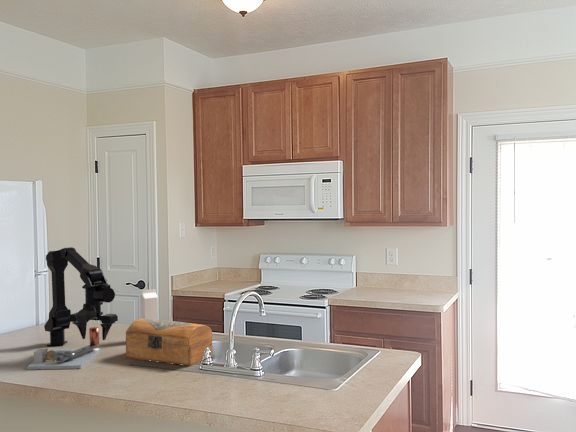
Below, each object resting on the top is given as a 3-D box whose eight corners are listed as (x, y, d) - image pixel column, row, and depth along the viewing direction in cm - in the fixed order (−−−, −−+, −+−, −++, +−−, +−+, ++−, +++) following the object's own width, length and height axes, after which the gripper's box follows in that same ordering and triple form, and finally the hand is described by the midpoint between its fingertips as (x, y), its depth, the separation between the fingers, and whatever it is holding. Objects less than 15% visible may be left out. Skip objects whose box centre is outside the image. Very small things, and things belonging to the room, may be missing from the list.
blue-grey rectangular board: (52, 352, 224) (52, 339, 224) (101, 351, 225) (100, 338, 225) (27, 369, 200) (26, 355, 200) (81, 368, 201) (81, 354, 201)
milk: (140, 339, 243) (139, 289, 243) (154, 337, 246) (153, 288, 246) (145, 342, 238) (143, 291, 238) (159, 340, 241) (157, 289, 241)
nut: (48, 358, 209) (48, 349, 209) (57, 358, 209) (57, 349, 209) (44, 361, 205) (44, 351, 205) (54, 361, 205) (54, 351, 205)
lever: (54, 360, 203) (53, 339, 203) (91, 345, 224) (91, 326, 224) (65, 361, 202) (64, 340, 202) (102, 346, 223) (101, 327, 223)
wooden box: (123, 359, 213) (122, 323, 213) (151, 349, 228) (151, 315, 228) (187, 368, 200) (186, 330, 200) (213, 357, 215) (212, 321, 214)
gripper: (59, 302, 216) (60, 343, 217) (101, 304, 211) (102, 345, 211) (77, 298, 227) (78, 336, 227) (118, 299, 222) (118, 338, 222)
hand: (93, 339), depth 222 cm, fingers open, 9 cm apart
